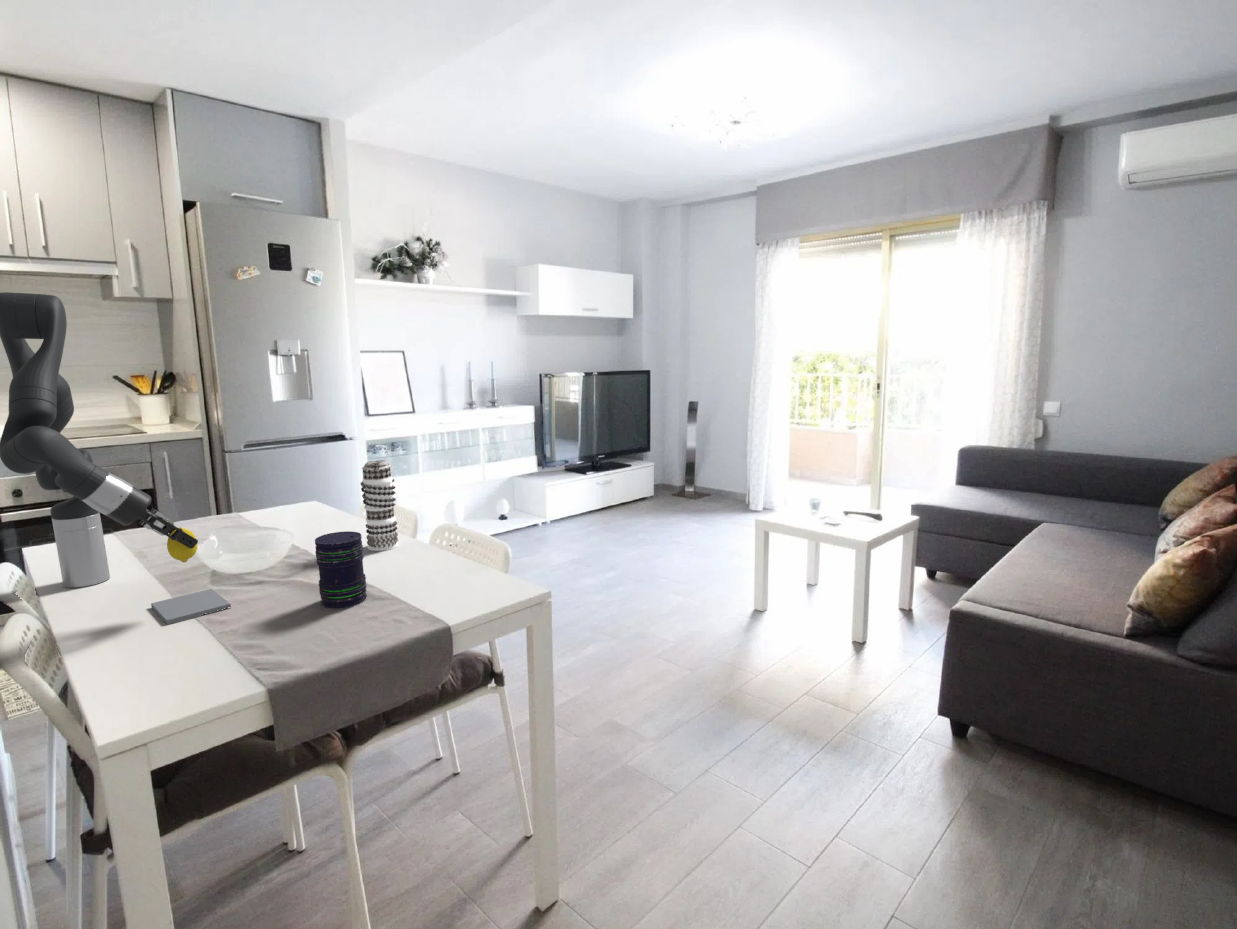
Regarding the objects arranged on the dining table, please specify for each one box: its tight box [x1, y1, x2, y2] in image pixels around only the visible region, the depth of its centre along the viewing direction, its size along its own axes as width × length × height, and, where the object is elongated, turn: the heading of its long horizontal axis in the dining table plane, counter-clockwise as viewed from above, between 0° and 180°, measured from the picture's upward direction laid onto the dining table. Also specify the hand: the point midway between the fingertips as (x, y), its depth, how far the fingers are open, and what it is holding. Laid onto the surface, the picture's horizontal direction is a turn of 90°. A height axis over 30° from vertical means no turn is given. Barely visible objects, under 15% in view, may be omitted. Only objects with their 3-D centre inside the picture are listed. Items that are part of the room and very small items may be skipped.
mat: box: [150, 588, 232, 626], centre depth 147 cm, size 14×12×1 cm
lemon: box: [166, 526, 198, 563], centre depth 144 cm, size 6×6×8 cm
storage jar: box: [314, 530, 368, 610], centre depth 148 cm, size 10×10×15 cm
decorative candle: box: [359, 459, 399, 552], centre depth 188 cm, size 9×9×25 cm
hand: (190, 542), depth 145 cm, fingers closed on lemon, 5 cm apart
